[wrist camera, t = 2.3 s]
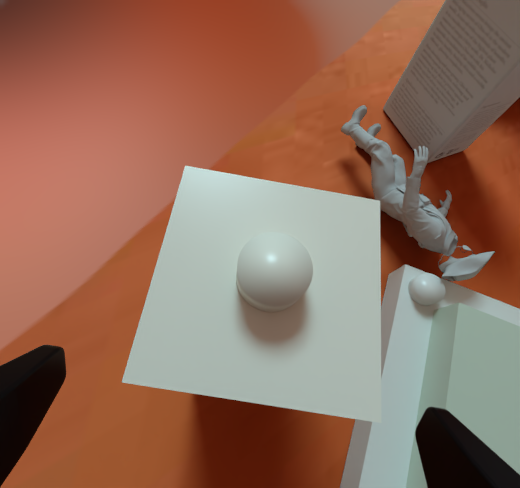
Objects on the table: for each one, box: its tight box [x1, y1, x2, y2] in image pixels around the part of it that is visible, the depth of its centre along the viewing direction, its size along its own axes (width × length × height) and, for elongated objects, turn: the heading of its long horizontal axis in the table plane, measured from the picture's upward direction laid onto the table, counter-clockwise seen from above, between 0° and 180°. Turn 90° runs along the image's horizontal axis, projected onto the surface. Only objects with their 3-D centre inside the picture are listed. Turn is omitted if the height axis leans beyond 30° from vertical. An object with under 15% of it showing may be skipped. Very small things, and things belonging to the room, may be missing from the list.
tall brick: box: [122, 166, 381, 423], centre depth 12 cm, size 5×5×13 cm
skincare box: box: [383, 0, 520, 163], centre depth 19 cm, size 6×4×12 cm
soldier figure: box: [341, 106, 495, 281], centre depth 20 cm, size 8×5×12 cm
